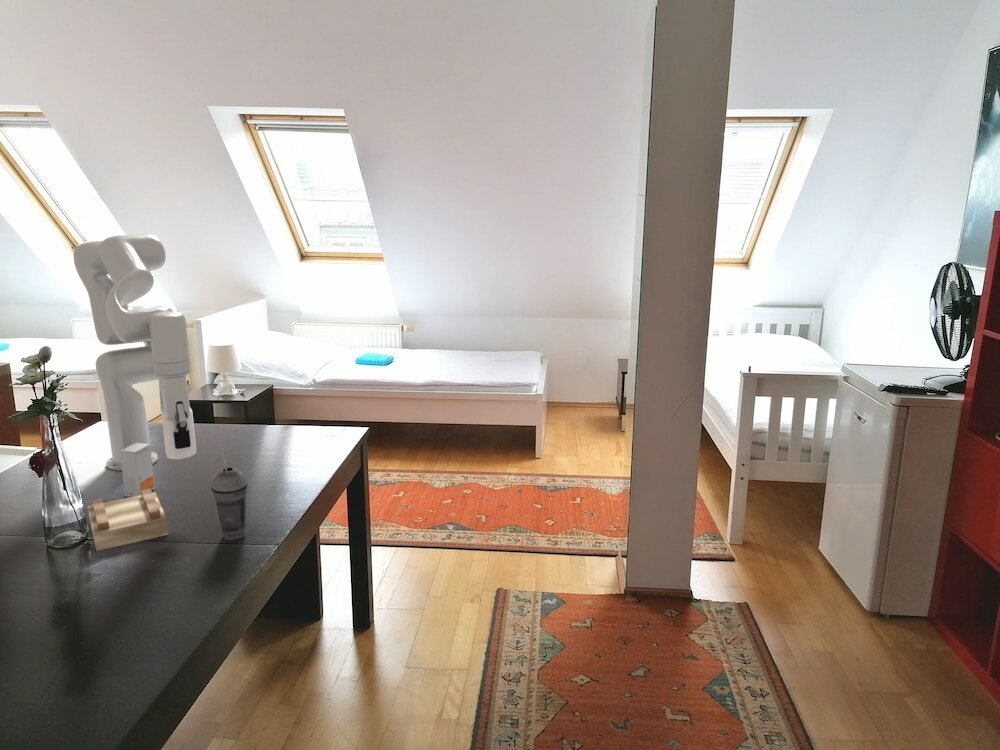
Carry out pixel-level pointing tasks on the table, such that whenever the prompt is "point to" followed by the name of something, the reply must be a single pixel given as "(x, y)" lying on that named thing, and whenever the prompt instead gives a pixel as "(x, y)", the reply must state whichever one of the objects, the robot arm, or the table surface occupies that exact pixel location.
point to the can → (170, 443)
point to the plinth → (127, 520)
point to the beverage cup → (230, 500)
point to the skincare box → (137, 469)
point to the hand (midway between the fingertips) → (180, 442)
